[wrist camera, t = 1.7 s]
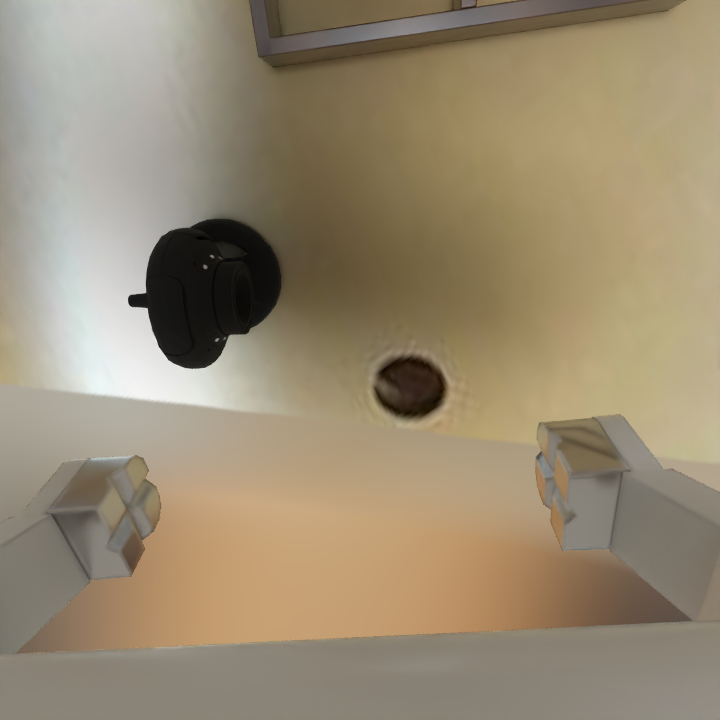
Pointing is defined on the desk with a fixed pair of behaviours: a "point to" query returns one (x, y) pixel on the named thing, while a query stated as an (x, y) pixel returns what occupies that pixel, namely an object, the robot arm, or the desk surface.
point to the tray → (432, 26)
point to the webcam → (207, 289)
